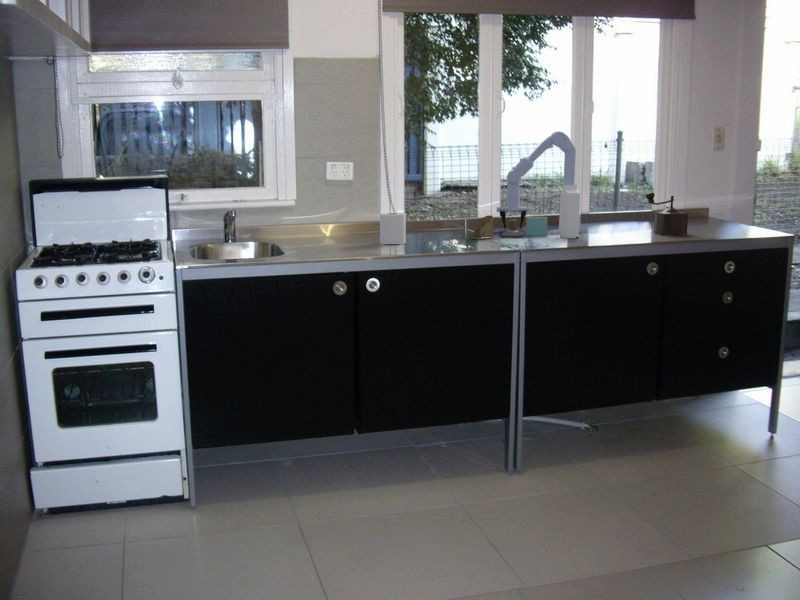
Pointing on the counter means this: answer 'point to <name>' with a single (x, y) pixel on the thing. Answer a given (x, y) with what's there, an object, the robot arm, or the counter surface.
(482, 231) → the rock
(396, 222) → the light grey block
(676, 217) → the manual coffee grinder
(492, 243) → the counter surface
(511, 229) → the two-tone stacked blocks
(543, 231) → the tile
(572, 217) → the milk
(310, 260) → the counter surface
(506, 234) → the pad
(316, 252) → the counter surface
